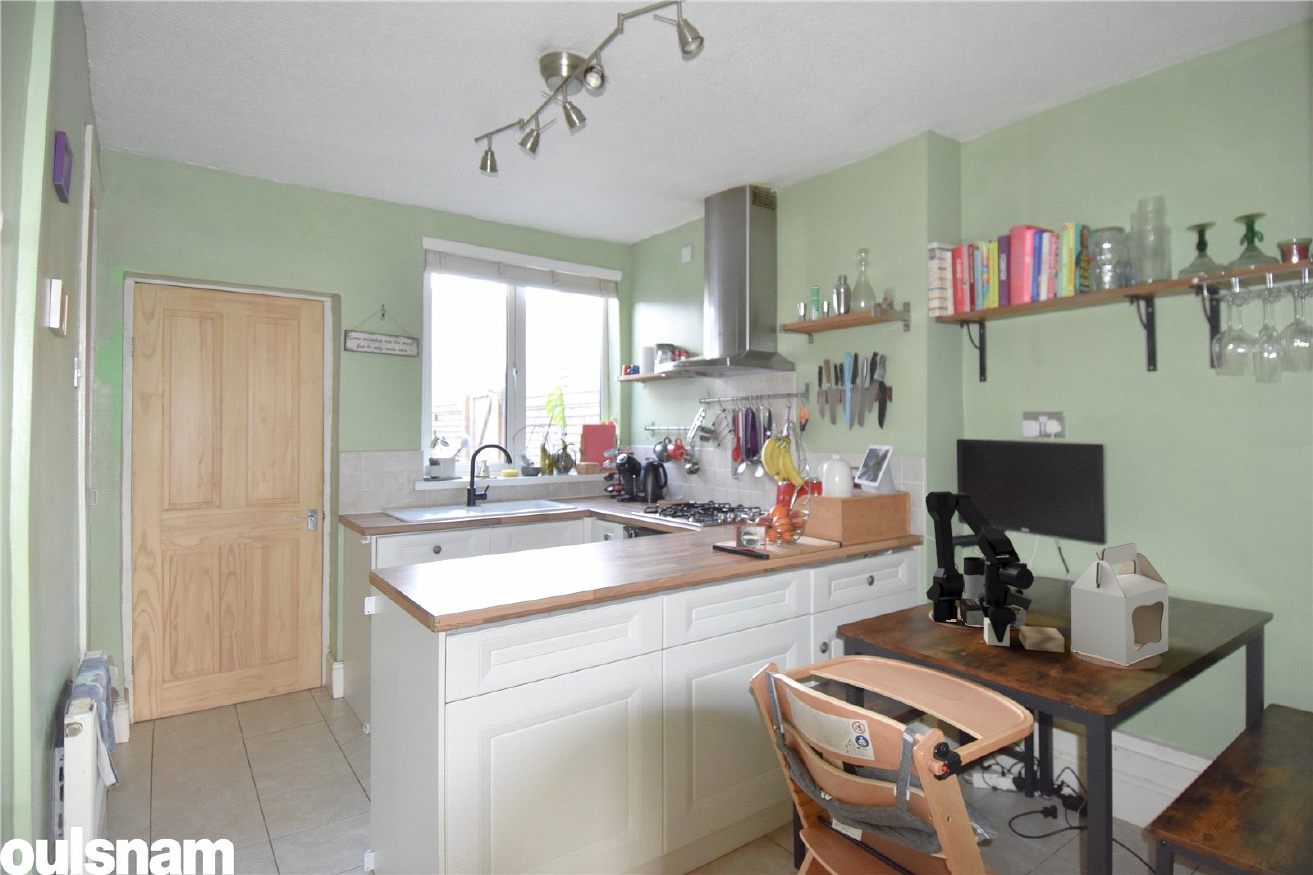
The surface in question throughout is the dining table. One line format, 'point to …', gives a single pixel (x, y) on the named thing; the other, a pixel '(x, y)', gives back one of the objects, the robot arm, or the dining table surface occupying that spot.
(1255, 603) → the dining table surface
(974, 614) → the coffee box
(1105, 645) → the gable box
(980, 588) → the glass holder
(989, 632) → the off-white plain cube
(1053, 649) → the oak block
